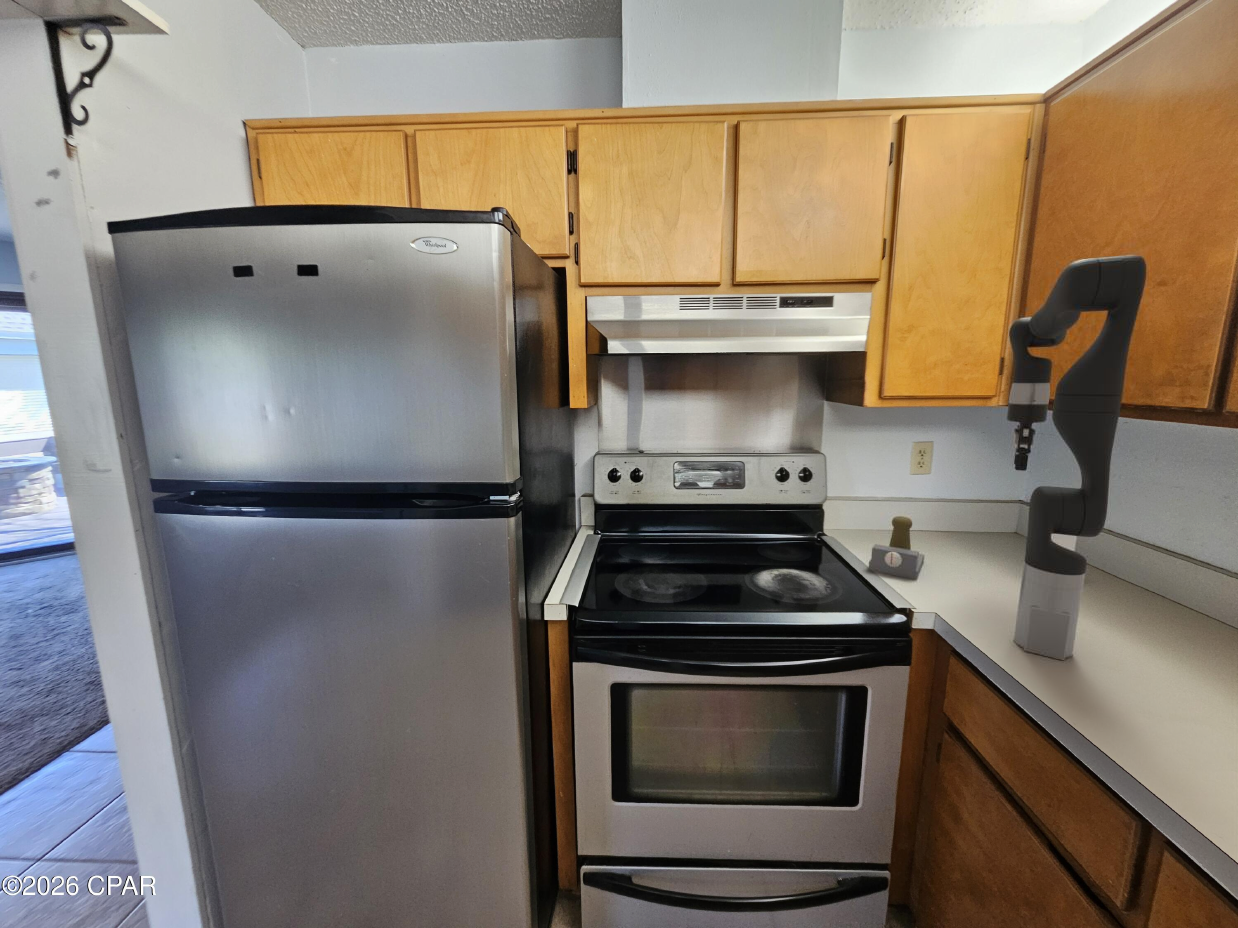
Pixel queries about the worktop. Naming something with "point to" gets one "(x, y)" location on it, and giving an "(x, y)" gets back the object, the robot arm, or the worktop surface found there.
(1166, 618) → the worktop surface
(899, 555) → the knob on square plate
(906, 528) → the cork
